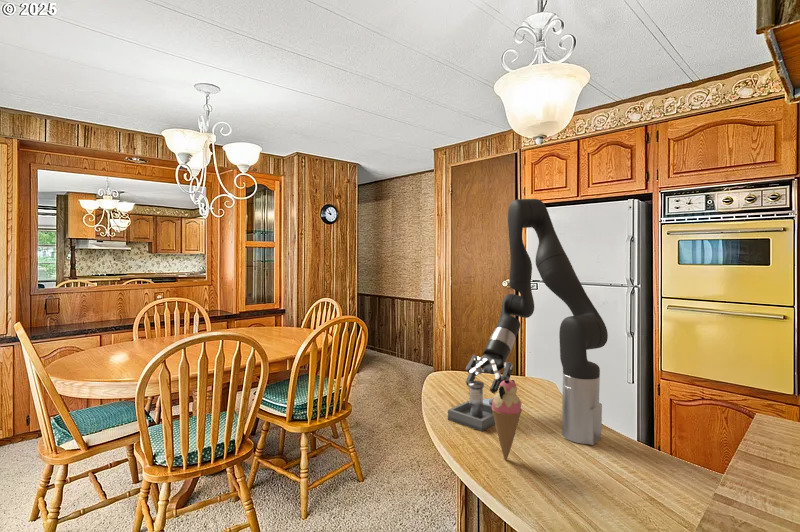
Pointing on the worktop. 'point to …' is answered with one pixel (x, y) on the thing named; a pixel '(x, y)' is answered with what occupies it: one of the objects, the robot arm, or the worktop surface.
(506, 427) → the ice cream cone
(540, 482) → the worktop surface
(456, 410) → the tray
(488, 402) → the pot lid
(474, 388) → the salt shaker
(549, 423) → the worktop surface
